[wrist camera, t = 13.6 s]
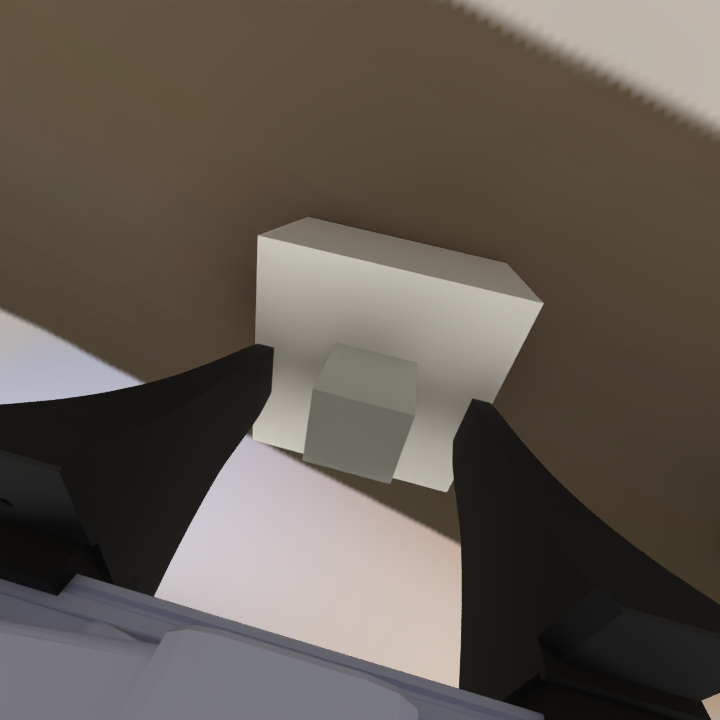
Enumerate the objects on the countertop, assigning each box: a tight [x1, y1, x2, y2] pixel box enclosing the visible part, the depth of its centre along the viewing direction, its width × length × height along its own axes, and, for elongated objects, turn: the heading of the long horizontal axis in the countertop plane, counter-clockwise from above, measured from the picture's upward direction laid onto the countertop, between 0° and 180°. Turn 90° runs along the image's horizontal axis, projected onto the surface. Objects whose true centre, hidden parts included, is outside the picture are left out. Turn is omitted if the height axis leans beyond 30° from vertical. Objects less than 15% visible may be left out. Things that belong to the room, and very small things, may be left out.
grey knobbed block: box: [253, 217, 544, 492], centre depth 14 cm, size 9×9×8 cm
